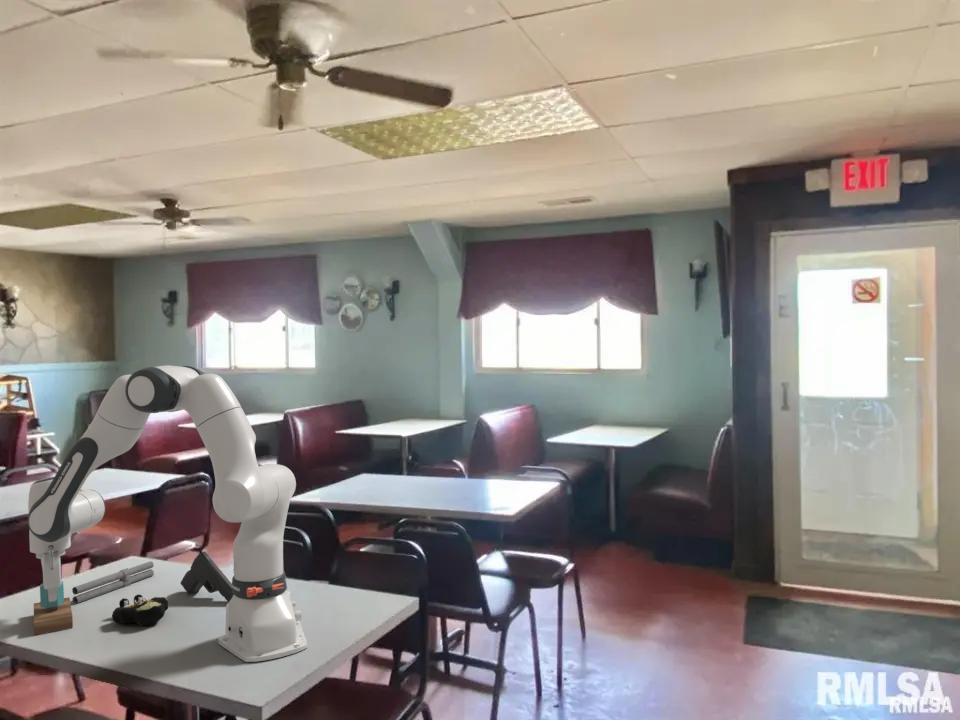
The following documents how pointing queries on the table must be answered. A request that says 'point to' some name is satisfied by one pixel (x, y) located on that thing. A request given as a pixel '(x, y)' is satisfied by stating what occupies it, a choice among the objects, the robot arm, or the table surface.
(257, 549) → the robot arm
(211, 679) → the table surface
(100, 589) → the metal rod assembly
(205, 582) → the pistol
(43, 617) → the stud block
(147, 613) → the toy
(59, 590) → the cap
